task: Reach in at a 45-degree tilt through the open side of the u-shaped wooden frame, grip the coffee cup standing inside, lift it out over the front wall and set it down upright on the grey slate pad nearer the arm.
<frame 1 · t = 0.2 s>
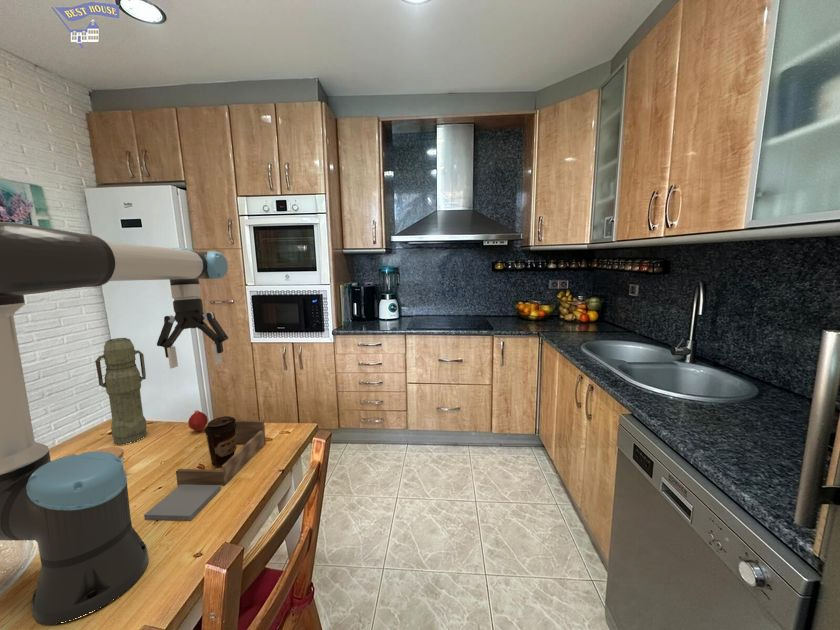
hand: (196, 365, 105), 27 cm above the table, tool pointing down, fingers open, 13 cm apart
thermos: (130, 439, 114), on the table
coffee cup: (224, 462, 100), on the table
u-shaped wooden frame: (226, 461, 100), on the table
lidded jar: (100, 484, 90), on the table
slate pad: (185, 503, 82), on the table
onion: (199, 431, 120), on the table
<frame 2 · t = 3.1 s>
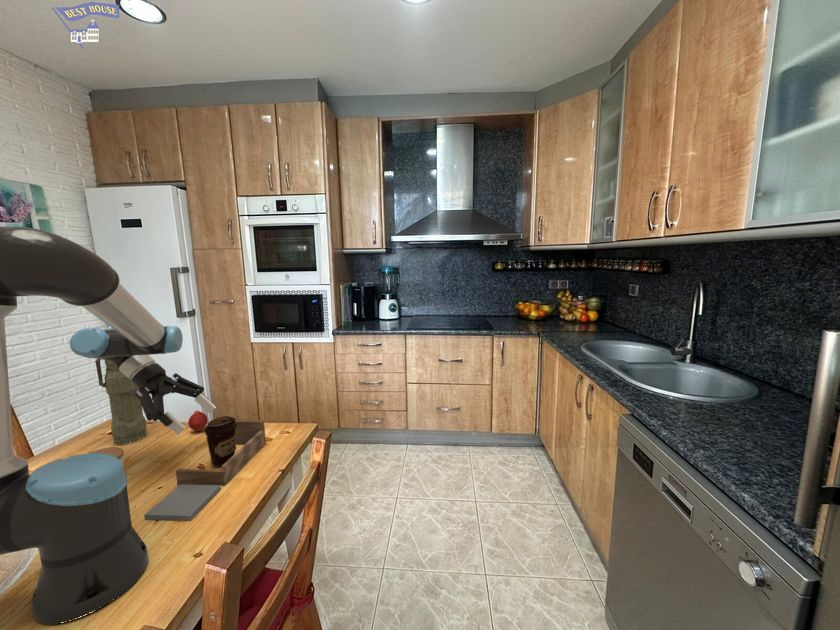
hand: (198, 420, 100), 13 cm above the table, tool tilted 45°, fingers open, 13 cm apart
nothing on the table moved.
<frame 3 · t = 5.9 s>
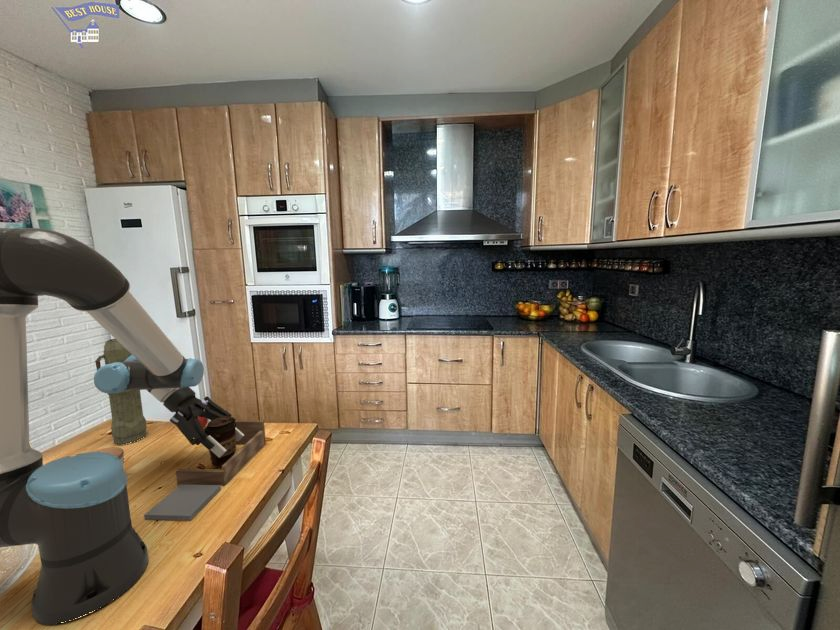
hand: (232, 445, 99), 5 cm above the table, tool tilted 45°, fingers closed on coffee cup, 8 cm apart
coffee cup: (224, 462, 100), on the table, touching gripper
everything else where it was.
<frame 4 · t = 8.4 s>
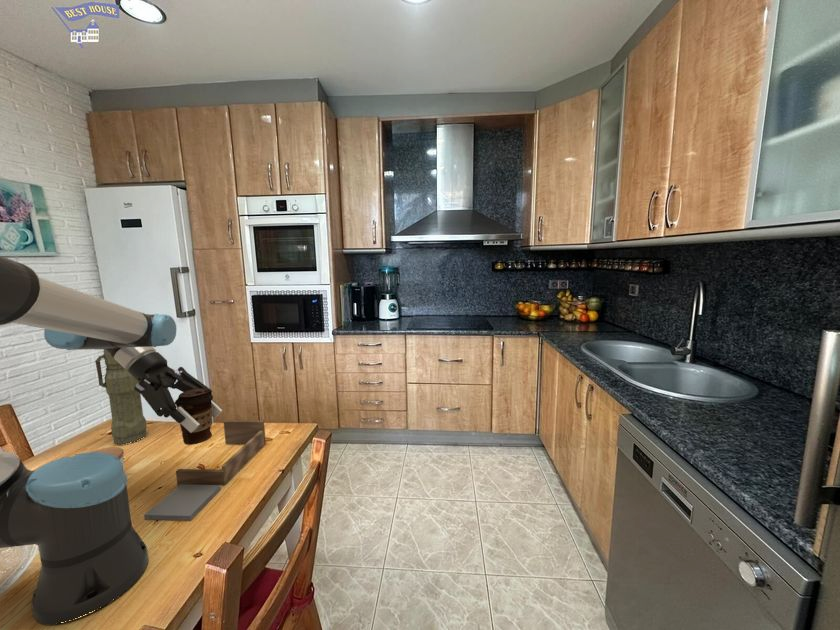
hand: (207, 421, 87), 18 cm above the table, tool tilted 45°, fingers closed on coffee cup, 8 cm apart
coffee cup: (198, 440, 87), point 13 cm above the table, touching gripper
everything else where it was.
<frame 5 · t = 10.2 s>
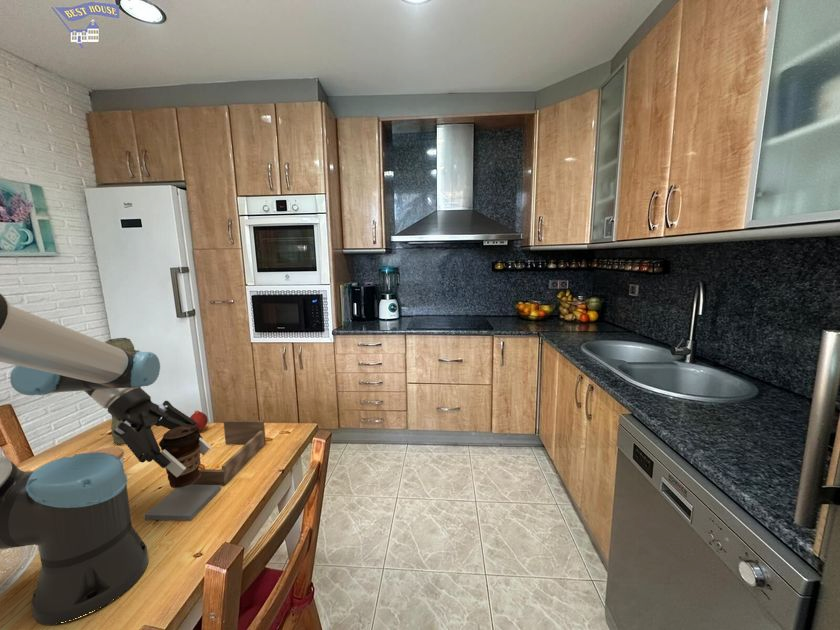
hand: (195, 461, 81), 11 cm above the table, tool tilted 45°, fingers closed on coffee cup, 8 cm apart
coffee cup: (186, 481, 82), point 5 cm above the table, touching gripper
everything else where it was.
when the fingers open (7 cm above the table, at t = 11.4 s): coffee cup stays where it is, resting on slate pad.
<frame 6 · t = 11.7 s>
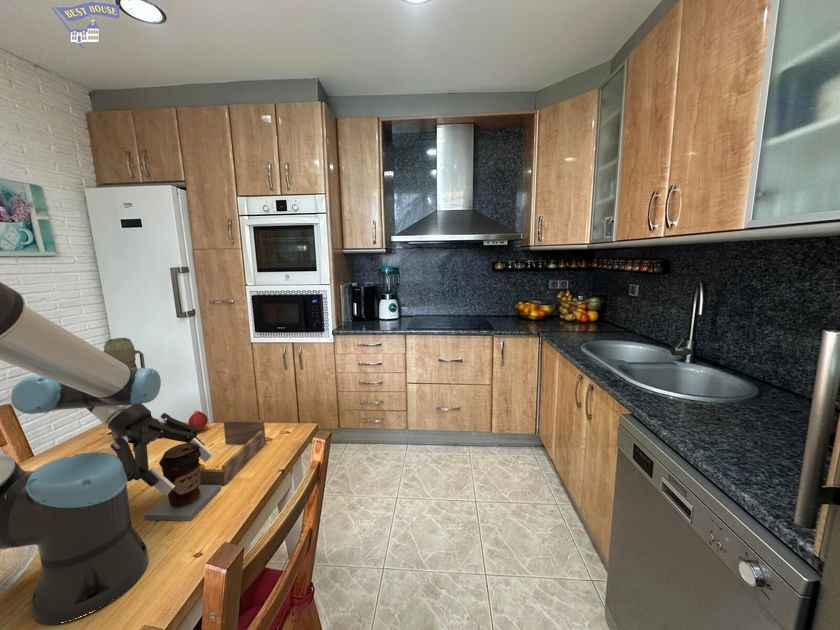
hand: (191, 473, 81), 8 cm above the table, tool tilted 45°, fingers open, 12 cm apart
coffee cup: (186, 499, 82), point 1 cm above the table, touching slate pad
everything else where it was.
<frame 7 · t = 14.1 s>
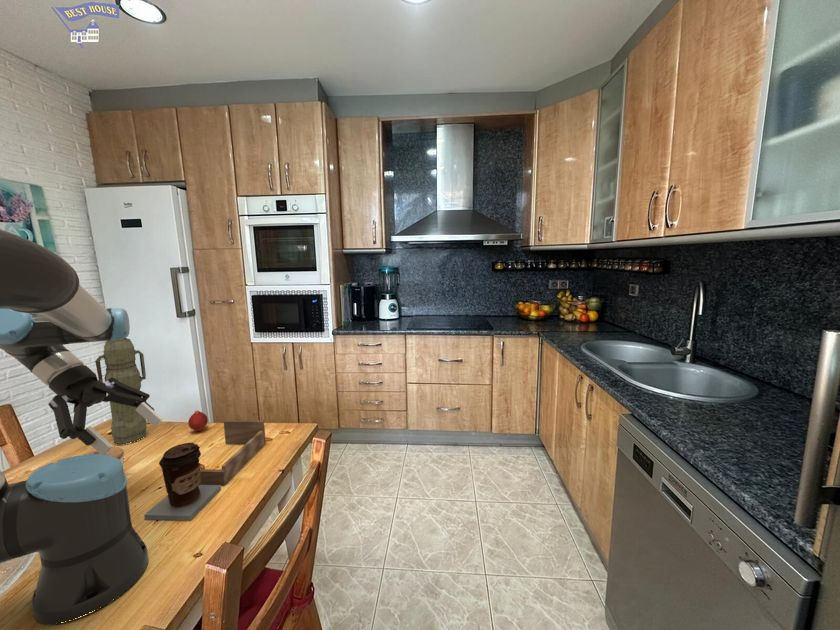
hand: (135, 435, 80), 18 cm above the table, tool tilted 45°, fingers open, 13 cm apart
nothing on the table moved.
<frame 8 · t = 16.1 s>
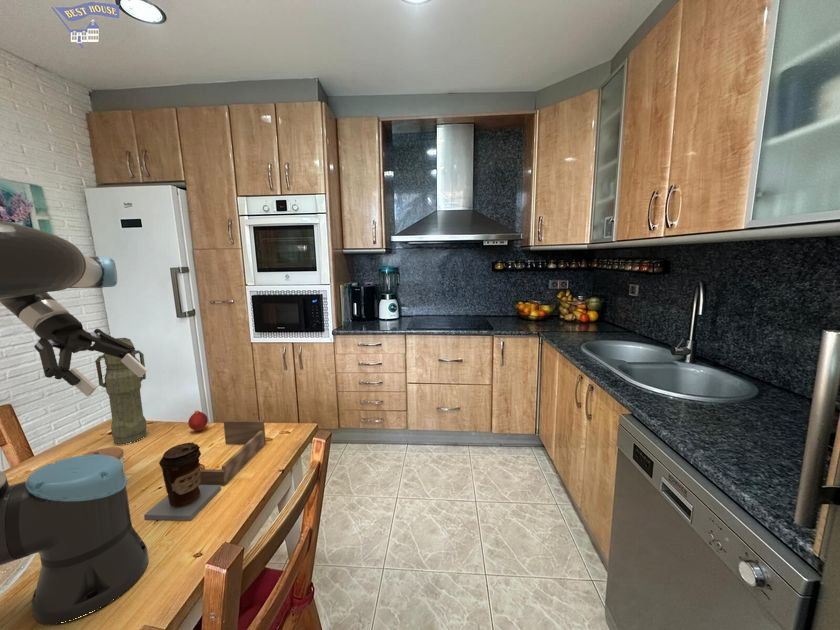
hand: (120, 382, 83), 30 cm above the table, tool tilted 45°, fingers open, 13 cm apart
nothing on the table moved.
at the end: coffee cup inside the target area on the slate pad (0.4 cm from its centre), point 1.0 cm above the slate pad's base; coffee cup tilted 0°; the gripper is holding nothing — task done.
